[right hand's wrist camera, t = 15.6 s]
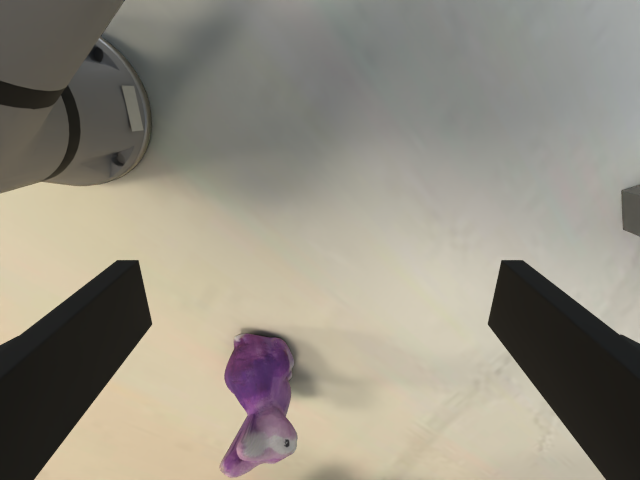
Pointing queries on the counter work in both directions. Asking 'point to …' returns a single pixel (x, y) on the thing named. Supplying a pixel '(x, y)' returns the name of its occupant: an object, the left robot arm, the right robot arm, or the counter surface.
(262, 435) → the figurine
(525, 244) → the counter surface
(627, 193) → the slate cube
